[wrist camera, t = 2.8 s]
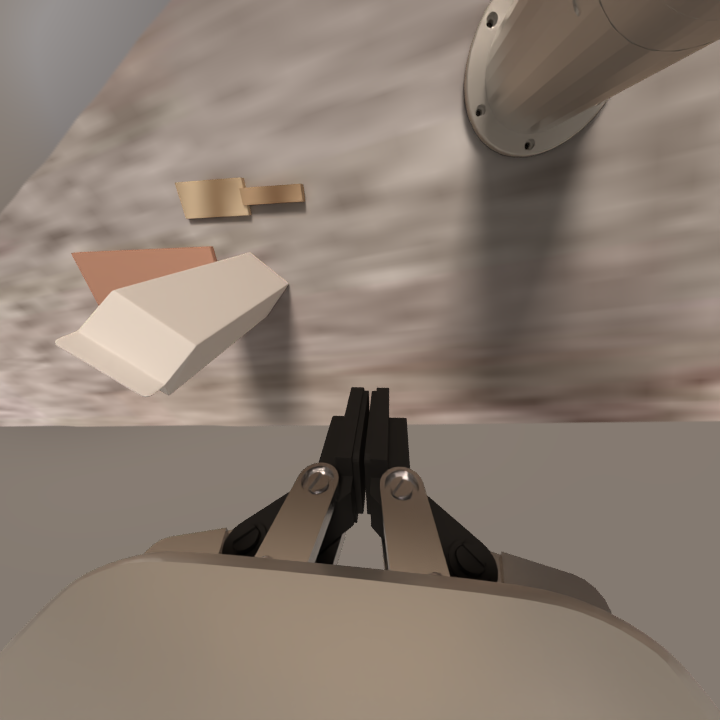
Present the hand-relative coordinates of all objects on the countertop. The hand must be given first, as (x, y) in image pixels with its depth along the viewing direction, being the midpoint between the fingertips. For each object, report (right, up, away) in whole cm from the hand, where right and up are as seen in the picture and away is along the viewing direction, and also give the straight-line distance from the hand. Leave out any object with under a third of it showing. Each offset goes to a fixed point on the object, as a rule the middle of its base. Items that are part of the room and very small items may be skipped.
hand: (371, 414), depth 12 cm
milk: (-14, +12, +24) cm, 30 cm away
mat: (-29, +12, +25) cm, 40 cm away
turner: (-14, +21, +19) cm, 32 cm away
